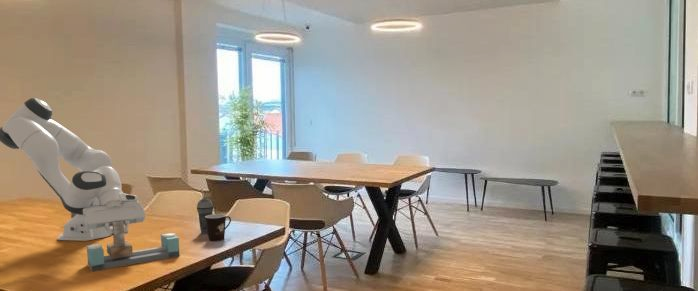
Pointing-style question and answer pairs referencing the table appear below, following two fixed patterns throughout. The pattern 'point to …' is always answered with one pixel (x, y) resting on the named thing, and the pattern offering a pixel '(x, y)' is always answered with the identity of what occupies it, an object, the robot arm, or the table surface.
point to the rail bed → (104, 262)
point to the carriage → (119, 242)
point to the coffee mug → (216, 226)
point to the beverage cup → (204, 212)
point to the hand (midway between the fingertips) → (119, 233)
